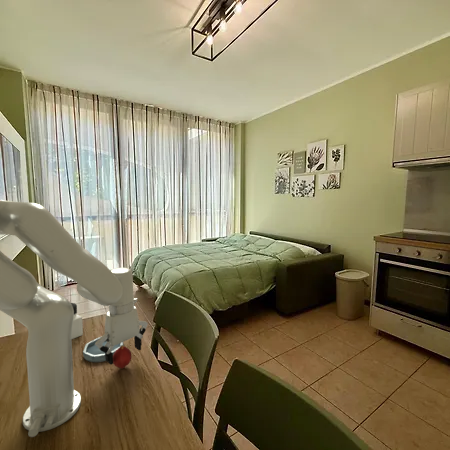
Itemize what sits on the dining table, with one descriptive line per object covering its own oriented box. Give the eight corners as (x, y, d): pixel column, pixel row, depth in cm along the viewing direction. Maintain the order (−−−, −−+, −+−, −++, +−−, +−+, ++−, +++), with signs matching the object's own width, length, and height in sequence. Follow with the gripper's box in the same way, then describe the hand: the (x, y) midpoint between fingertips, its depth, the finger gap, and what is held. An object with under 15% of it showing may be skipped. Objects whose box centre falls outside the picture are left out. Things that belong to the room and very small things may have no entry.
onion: (113, 364, 86) (112, 342, 85) (131, 360, 88) (130, 338, 87) (112, 375, 80) (112, 352, 79) (132, 371, 83) (131, 348, 82)
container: (74, 329, 108) (73, 299, 107) (83, 334, 104) (81, 304, 102) (53, 336, 102) (52, 305, 100) (62, 343, 97) (60, 311, 96)
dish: (122, 358, 89) (122, 352, 89) (79, 365, 85) (79, 359, 85) (124, 338, 101) (124, 333, 101) (87, 343, 97) (87, 338, 97)
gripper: (140, 295, 91) (142, 339, 93) (88, 312, 78) (92, 363, 80) (151, 301, 86) (153, 348, 88) (98, 320, 73) (102, 374, 76)
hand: (124, 355), depth 84 cm, fingers open, 9 cm apart
